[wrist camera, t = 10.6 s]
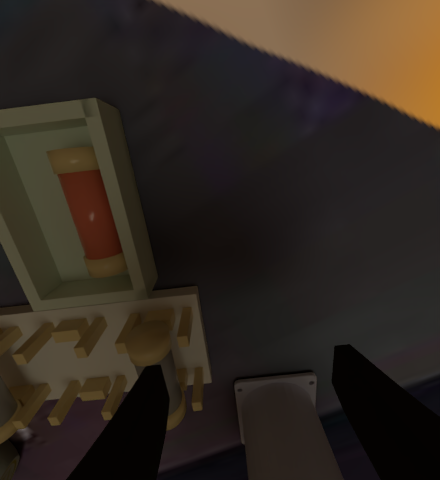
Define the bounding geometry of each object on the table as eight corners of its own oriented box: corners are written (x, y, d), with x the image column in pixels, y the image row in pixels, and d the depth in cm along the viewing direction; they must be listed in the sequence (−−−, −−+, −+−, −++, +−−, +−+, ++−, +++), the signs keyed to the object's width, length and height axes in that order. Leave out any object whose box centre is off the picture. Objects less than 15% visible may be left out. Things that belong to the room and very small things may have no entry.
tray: (158, 276, 18) (148, 298, 16) (61, 287, 19) (33, 311, 16) (118, 109, 14) (95, 97, 11) (-6, 124, 14) (-60, 117, 12)
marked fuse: (111, 257, 18) (142, 259, 16) (78, 276, 15) (112, 279, 14) (80, 152, 15) (114, 146, 14) (33, 153, 12) (70, 146, 11)
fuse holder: (211, 371, 22) (211, 419, 18) (10, 392, 22) (-36, 444, 18) (197, 285, 19) (192, 321, 15) (-40, 312, 19) (-108, 353, 15)
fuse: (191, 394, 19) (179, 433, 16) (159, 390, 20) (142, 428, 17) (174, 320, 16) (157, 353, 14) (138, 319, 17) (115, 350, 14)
